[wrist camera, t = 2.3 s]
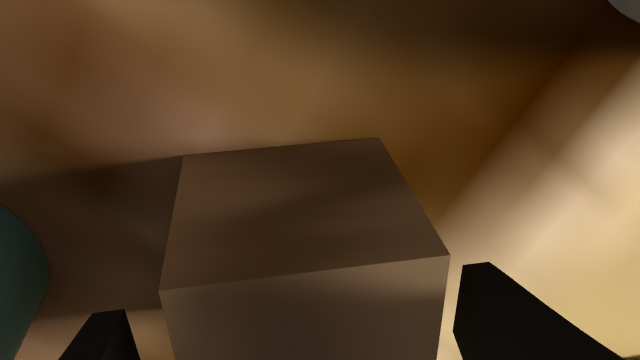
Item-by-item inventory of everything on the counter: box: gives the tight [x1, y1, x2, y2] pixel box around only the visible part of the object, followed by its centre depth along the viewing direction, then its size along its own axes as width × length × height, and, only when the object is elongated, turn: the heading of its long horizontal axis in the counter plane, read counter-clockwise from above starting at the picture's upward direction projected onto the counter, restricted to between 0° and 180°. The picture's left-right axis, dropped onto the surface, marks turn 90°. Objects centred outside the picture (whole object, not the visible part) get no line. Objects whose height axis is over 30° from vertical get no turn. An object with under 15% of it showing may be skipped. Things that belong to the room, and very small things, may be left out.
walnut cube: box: [158, 138, 450, 360], centre depth 12 cm, size 5×5×5 cm
